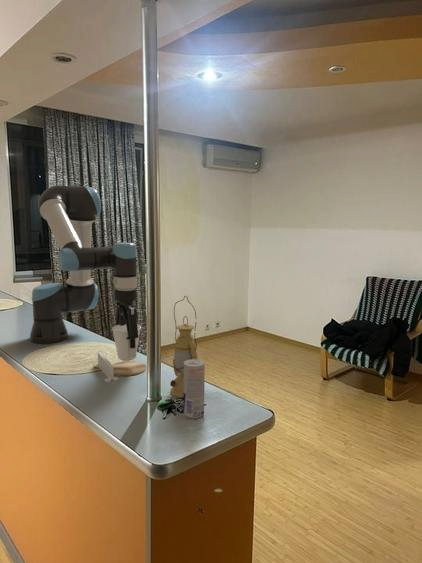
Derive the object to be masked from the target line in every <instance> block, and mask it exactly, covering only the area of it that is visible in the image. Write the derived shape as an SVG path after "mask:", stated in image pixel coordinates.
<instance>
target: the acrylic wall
mask: <svg viewBox="0 0 422 563" xmlns="http://www.w3.org/2000/svg"><path fill="white" fill-rule="evenodd" d="M93 368H95V369H96V368H99V369H100V370H101V372H102V373H103V374H104V375H105V376H106V377H107V378H104V382H105V383H111V382H117V381H119V378H118V376H115V375H114V372H113V365H112V363H111V362H110V361H109V360H108V359H107V357H106V356H105V355H104V354H103V353H102V352H101V351H97V363H96V364H93Z"/></svg>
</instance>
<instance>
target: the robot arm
mask: <svg viewBox="0 0 422 563" xmlns="http://www.w3.org/2000/svg"><path fill="white" fill-rule="evenodd" d="M37 202H38V203H37V204H38V206H37V207H38V211H39V213H40V216H41V217H42V218H43V219H44V220H45V221H46V222H47V224H48V226H49V229H50V231H51V234H52V235H53V237H54V240H55V242H56V243H57V246H58V248H59V250H58V251H57V263H58V267H59V269H60V270H62V271H64V272H69V277H68V278H67V279H66V281H65V285H62V284H61V282H48V283H44V284H40V285H38V286H36V287H34V288H33V289H32V291H31V301H32V316H33V323H32V327H31V330H30V335H29V340H30V342H31V343H34V344H43V345H44V344H53V343H58V342H62V341H64V340H67V339H68V338H69V331H68V329H67V327H66V324H65V321H64V316H63V314H65V313H72V312H74V313H75V312H82V311H88V310H93V309H95V307H96V306H97V304H98V301H99V287H98V285H97V284H96V283H95V281H94V279H93V278H92V276H91V270H104V269H105V270H106V269H107V270H108V269H113V279H112V283H114V284H113V286H114V288H115V289H114V290H113V291H114V301H115V302H116V316H115V317H116V318H115V326H116V325H120V326H124V325H125V324H126V327H127V331H128V332H127V333H128V337H127V338H126V339H127V351H128V358H130V357H136V358H137V355H136V338H138V328H137V325H138V321H137V320H138V318H137V307H134V305H133V302H134V301H137V299H138V289H136V288H137V287H138V277H137V276H138V275H137V256H138V254H137V247H136V244H135V243H134V242H116V243H114V244H112V245H107V246H104V247H103V246H102V247H101V246H99V247H92V224H93V223H94V222H96V218H97V216H99V215H100V214H101V211H102V202H101V198H100V194H99V192H98V191H97V189H95V188H94V187H93V186H92V187H91V186H85V185H81V186H80V185H61V184H59V185H52V186H51V187H48V188H46V189H45V190H44V191H43V192H42V193H41V195H40V196H39V198H38V201H37ZM133 334H134V335H133Z"/></svg>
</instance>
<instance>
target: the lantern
mask: <svg viewBox="0 0 422 563" xmlns="http://www.w3.org/2000/svg"><path fill="white" fill-rule="evenodd" d="M185 298H186V300H187V302H188V303H189V304H190V305H191V306H192V308H193V310H194V314H195V318H197V312H196V309H195V307H194V306H193V303H191V302H190V301H189V298H188V296H187V295H184V296H183V299H180V300H178V301H177V302H175V304H174V307H173V318H174V322H175V325H176V326H175V329H176V330H178V332H179V335H177V331H175V335H174V337H175V338H174V340H175V346H174V347H175V348H174V354H173V355H174V357H173V362H172V363H173V365H172V366H173V372H174V375H175V376H176V377H175V378H174V379H172V380H171V381H170V383H169V384H170V387H171V388H170V392H169V393H170V394H171V395H172V396H173V395H174V397H176V396H177V397H176V398H180V397H184V362H185V361H186V360H190V359H198V358H199V357H198V352H197V348H198V347H197V339H196V334H194V335H192V332H193V331H192V330H195V329H196V328H197V323H195V325H191V324H189V320H188V317H187V316H186V315H185V316H184V317H183V318H182V323H183V324H179V325H177V322H176V320H177V319H176V317H175V316H176V315H175V310H176V304H177V303H179V302H181V301H184V300H185ZM185 318H186V320H187V323H185V322H184V320H185ZM198 360H199V359H198Z"/></svg>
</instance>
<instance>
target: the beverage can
mask: <svg viewBox="0 0 422 563" xmlns="http://www.w3.org/2000/svg"><path fill="white" fill-rule="evenodd" d="M205 368H206V366H205V361H204V360H202V359H190V360H186V361H185V362H184V398H183V416H184V417H185V418H188V419H199V418H201V417H203V416H204V414H205Z"/></svg>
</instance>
